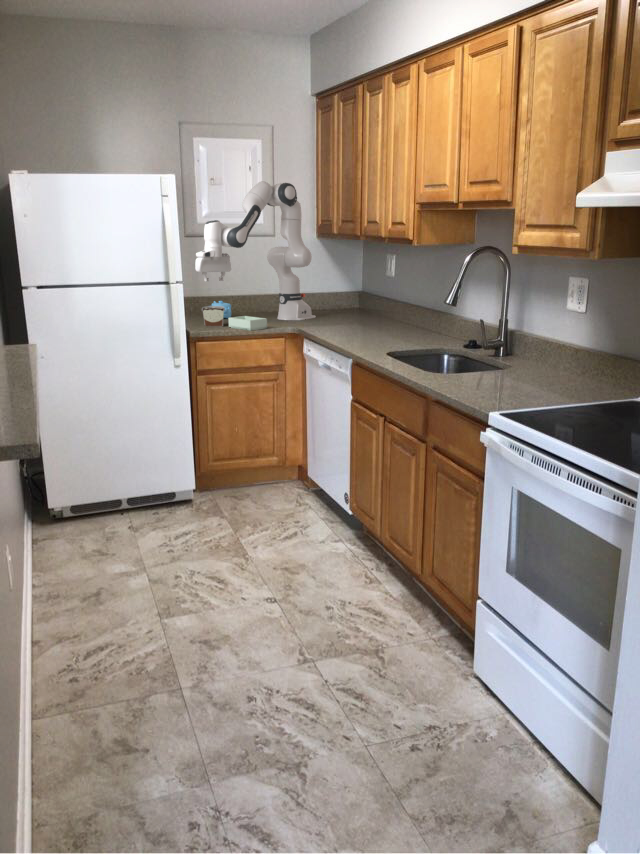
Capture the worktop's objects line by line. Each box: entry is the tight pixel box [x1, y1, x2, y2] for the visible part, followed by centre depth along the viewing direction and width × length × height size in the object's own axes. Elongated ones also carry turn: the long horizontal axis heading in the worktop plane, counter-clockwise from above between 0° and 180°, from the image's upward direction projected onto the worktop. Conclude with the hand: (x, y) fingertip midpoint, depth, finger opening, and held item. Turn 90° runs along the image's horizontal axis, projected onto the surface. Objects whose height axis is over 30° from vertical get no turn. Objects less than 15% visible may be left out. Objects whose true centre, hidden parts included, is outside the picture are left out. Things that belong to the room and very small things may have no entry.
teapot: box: [210, 300, 232, 320], centre depth 423 cm, size 18×14×10 cm
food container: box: [201, 305, 225, 327], centre depth 396 cm, size 12×6×10 cm, turn 84°
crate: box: [227, 315, 268, 332], centre depth 388 cm, size 11×17×5 cm, turn 46°
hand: (213, 281), depth 392 cm, fingers open, 8 cm apart
